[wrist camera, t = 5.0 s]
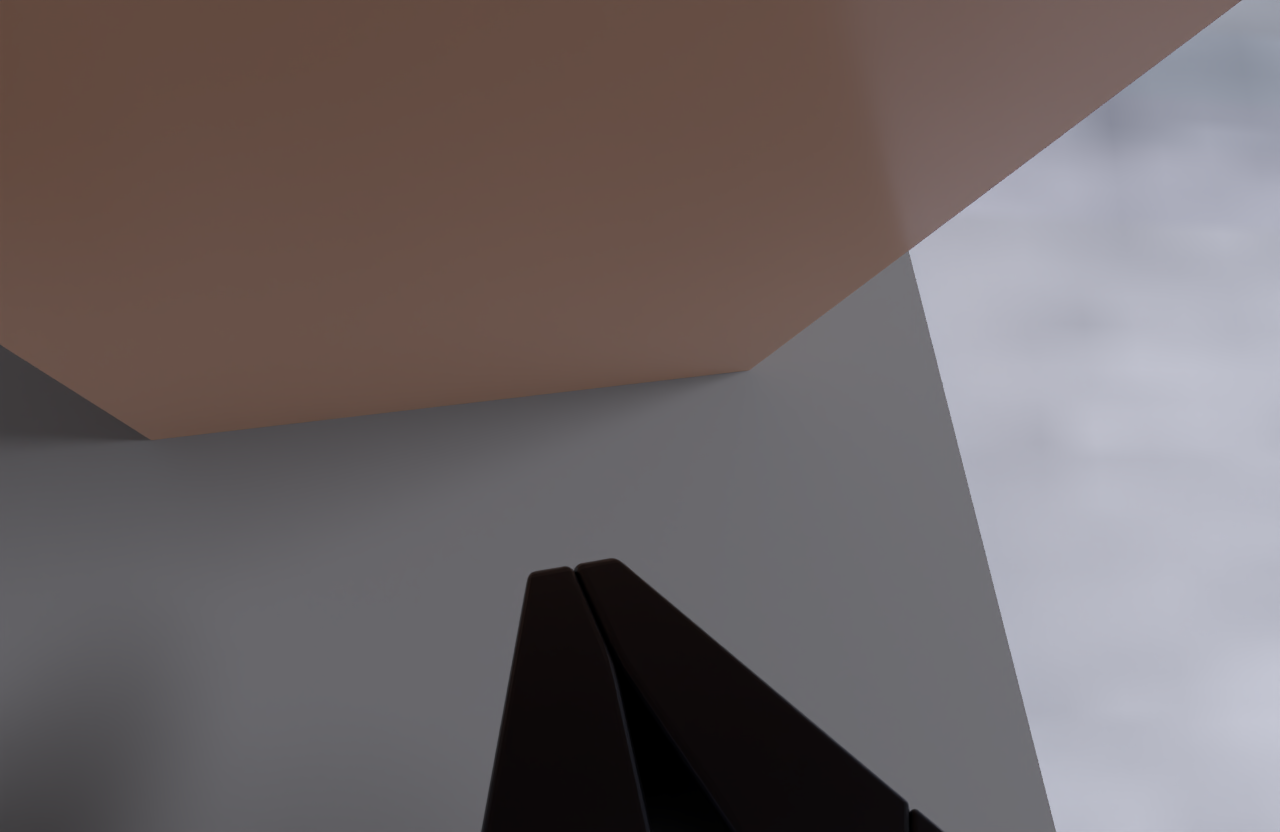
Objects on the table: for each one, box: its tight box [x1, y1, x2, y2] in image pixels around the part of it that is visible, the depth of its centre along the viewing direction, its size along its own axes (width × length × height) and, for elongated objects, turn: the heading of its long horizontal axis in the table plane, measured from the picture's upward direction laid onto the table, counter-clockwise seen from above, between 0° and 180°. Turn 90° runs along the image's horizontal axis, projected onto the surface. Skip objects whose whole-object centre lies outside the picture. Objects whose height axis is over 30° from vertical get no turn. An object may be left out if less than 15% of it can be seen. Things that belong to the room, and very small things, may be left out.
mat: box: [0, 251, 1056, 832], centre depth 15 cm, size 23×18×1 cm
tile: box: [0, 0, 1241, 440], centre depth 10 cm, size 10×3×10 cm, turn 100°
